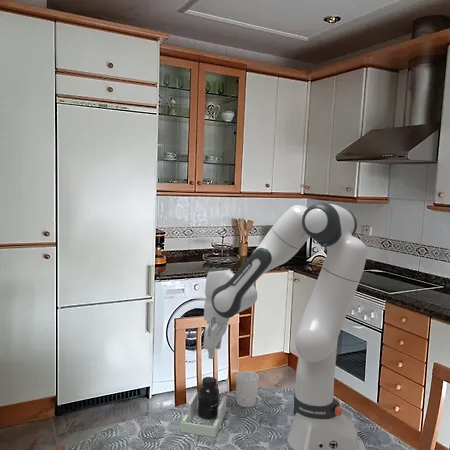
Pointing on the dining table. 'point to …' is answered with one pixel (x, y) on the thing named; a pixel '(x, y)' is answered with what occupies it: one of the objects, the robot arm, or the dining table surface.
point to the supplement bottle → (208, 398)
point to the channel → (194, 402)
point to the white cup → (246, 388)
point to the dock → (199, 428)
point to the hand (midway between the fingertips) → (214, 353)
